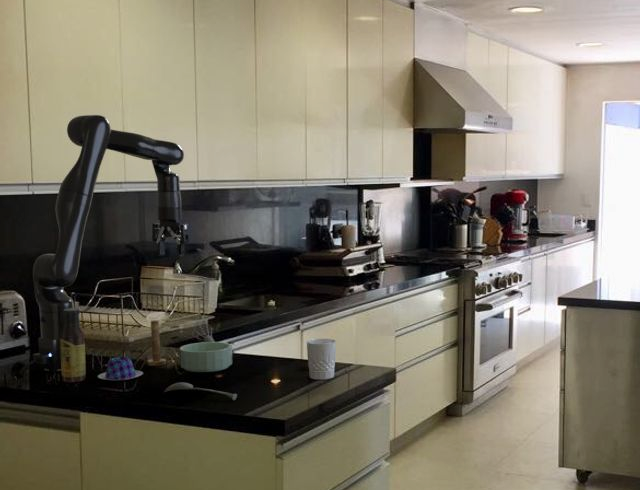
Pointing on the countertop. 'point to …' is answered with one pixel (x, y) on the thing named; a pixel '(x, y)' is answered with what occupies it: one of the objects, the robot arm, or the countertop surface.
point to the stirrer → (156, 345)
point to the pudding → (120, 370)
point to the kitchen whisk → (206, 338)
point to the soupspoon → (190, 387)
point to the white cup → (321, 358)
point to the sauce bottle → (72, 348)
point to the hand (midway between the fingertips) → (171, 255)
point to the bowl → (206, 356)
